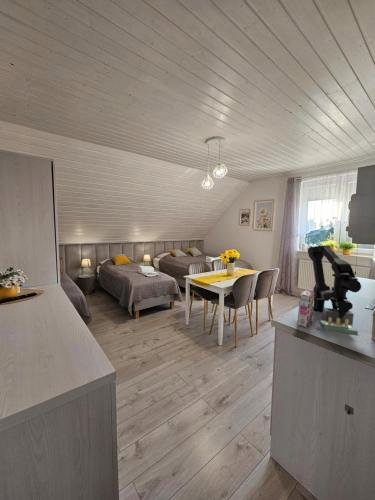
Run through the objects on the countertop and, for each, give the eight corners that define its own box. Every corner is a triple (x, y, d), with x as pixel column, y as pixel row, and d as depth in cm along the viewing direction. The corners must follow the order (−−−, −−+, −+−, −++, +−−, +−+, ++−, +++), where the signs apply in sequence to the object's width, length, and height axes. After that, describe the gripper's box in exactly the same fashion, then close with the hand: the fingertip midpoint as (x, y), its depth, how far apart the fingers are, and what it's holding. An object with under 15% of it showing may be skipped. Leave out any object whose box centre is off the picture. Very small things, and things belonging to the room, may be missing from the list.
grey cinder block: (322, 318, 123) (323, 307, 122) (348, 321, 119) (349, 310, 118) (325, 321, 118) (326, 310, 117) (352, 325, 114) (353, 313, 114)
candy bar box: (307, 328, 110) (310, 296, 108) (297, 325, 113) (299, 294, 111) (312, 321, 119) (314, 291, 117) (302, 318, 122) (304, 289, 120)
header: (319, 322, 117) (320, 313, 116) (350, 326, 112) (351, 317, 112) (324, 329, 109) (324, 319, 108) (357, 334, 105) (358, 323, 104)
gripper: (318, 281, 128) (316, 307, 129) (328, 289, 110) (325, 320, 112) (340, 282, 124) (337, 309, 126) (354, 292, 107) (351, 323, 108)
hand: (337, 315), depth 118 cm, fingers open, 9 cm apart
